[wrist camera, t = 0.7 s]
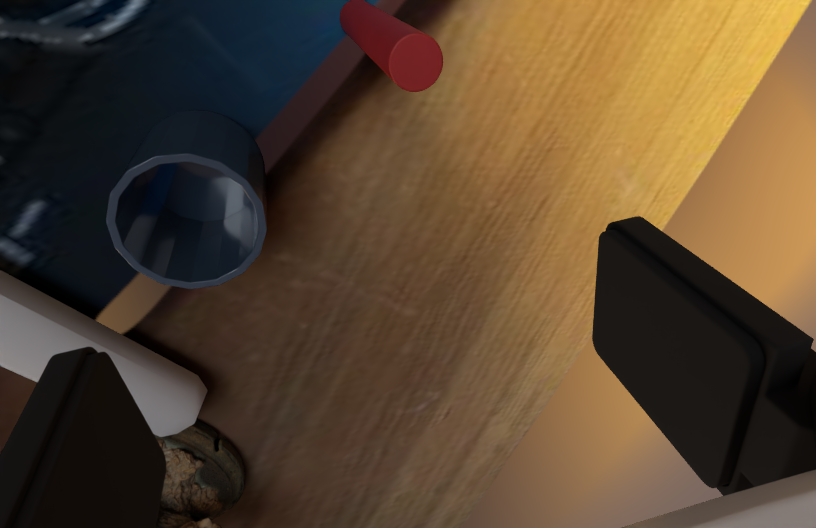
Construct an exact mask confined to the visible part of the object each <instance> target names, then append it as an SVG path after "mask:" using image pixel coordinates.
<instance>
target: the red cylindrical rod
mask: <svg viewBox="0 0 816 528" xmlns="http://www.w3.org/2000/svg"><path fill="white" fill-rule="evenodd" d="M340 23H341V26H342V28H343V30H344V31H345V32H346V33H347V34H348V35H349V36H350V37H351V38H352V39H353V40H354V41H355V43H357V44H358V45H359V47H360V48H361V49H362V50H363V51H364V52H365V53H366V54H367V55H368V56H369V57H370V58H371V59H372V60H373V61H374V62H375V63H376V64H377V65H378V66H379V67H380V68H381V69H382V70H383V71H384V72H385V73H386V74H387V75H388V76H389V77H390V78H391V79H392V80H393V81H394V82H395V83H396V84H397V85H398V86H399V87H400V88H402V89H404V90H406V91H410V92H419V91H423V90H425V89H427V88H429V87H430V86H431V85H433V84H434V83H435V82H436V80H437V79H438V77H439V75H440V73H441V70H442V66H443V56H442V51H441V49H440V46H439V45H438V43H437V42H436V41H435V40H434V39H433V38H432V37H430V36H429V35H427V34H425V33H423V32H421V31H419V30H417V29H416V28H414V27H412V26H410V25H408V24H406V23H404V22H402V21H401V20H399V19H397V18H395V17H393V16H391V15H389V14H388V13H386V12H384V11H382V10H380V9H378V8H376V7H374V6H373V5H371V4H369V3H367V2H365V1H363V0H351V1H349V2H347V3H346V4H345V5H344V6H343V8H342V10H341V13H340Z"/></svg>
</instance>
